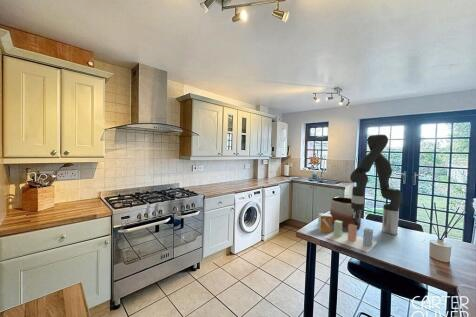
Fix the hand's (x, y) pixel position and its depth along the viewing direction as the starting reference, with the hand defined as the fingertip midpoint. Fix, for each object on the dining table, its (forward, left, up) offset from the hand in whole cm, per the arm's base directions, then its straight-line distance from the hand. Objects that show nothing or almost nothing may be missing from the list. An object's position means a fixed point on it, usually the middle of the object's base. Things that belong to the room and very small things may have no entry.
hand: (356, 226), depth 139 cm
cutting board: (+8, -1, -8) cm, 11 cm away
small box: (+6, -19, -8) cm, 22 cm away
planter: (-22, -15, -8) cm, 28 cm away
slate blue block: (+8, +9, -7) cm, 14 cm away
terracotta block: (+8, 0, -7) cm, 10 cm away
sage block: (+8, -9, -7) cm, 14 cm away
